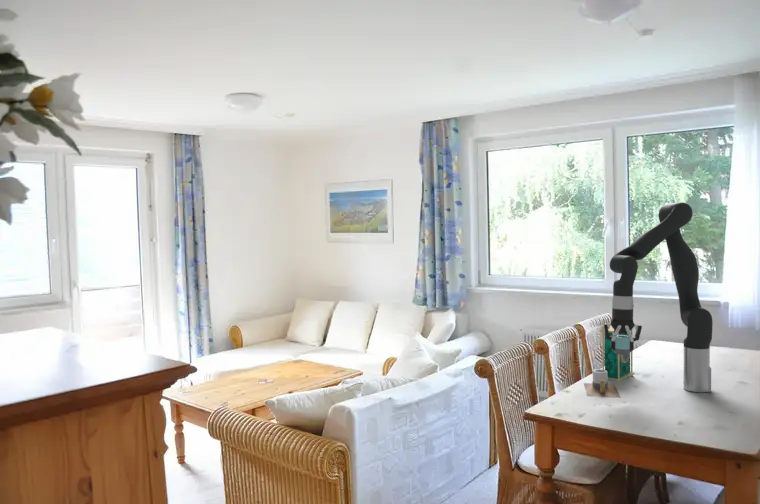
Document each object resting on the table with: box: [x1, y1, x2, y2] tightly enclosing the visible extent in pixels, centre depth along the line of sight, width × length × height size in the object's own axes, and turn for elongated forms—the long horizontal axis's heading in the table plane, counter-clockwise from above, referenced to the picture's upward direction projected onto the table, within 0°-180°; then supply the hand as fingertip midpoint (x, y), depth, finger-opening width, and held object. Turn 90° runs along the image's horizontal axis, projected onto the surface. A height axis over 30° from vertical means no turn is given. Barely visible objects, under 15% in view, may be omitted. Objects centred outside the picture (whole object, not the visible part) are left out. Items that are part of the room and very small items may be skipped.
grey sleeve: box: [592, 368, 609, 389], centre depth 240 cm, size 5×5×6 cm
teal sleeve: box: [614, 335, 631, 355], centre depth 230 cm, size 5×5×6 cm
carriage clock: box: [599, 325, 636, 382], centre depth 256 cm, size 17×9×30 cm, turn 137°
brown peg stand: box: [583, 380, 621, 399], centre depth 235 cm, size 12×18×6 cm, turn 165°
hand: (621, 350), depth 230 cm, fingers closed on teal sleeve, 5 cm apart
